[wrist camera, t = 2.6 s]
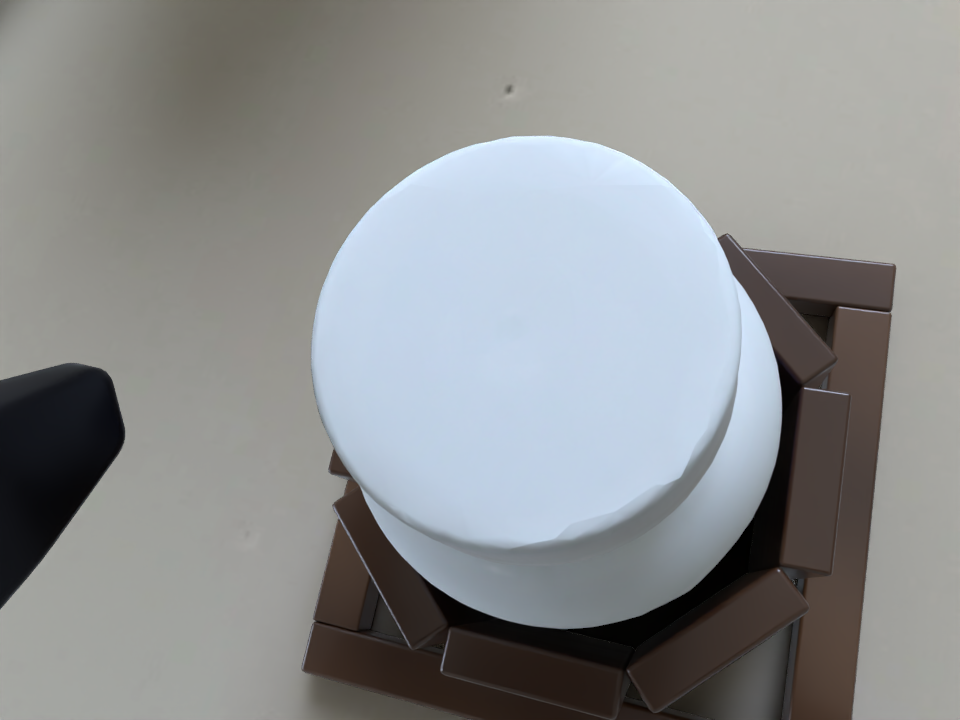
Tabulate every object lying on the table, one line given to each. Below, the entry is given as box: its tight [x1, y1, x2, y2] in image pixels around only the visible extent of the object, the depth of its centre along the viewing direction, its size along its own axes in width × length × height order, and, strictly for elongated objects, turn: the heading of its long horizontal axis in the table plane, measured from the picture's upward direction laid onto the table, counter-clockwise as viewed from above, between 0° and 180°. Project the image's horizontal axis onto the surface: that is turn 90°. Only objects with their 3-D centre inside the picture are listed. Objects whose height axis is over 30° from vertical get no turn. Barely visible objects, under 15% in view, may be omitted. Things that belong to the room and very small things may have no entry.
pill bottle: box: [311, 136, 782, 629], centre depth 12 cm, size 5×5×10 cm
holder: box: [302, 234, 896, 720], centre depth 14 cm, size 10×10×4 cm
